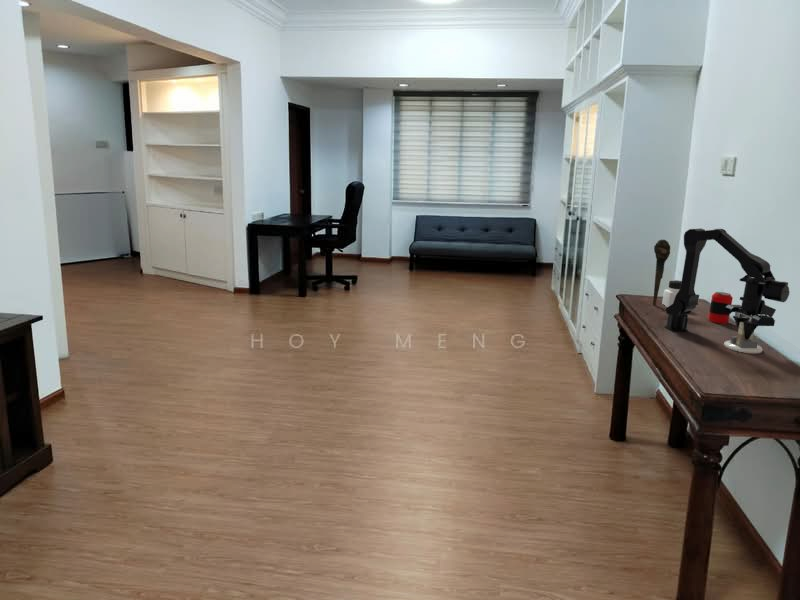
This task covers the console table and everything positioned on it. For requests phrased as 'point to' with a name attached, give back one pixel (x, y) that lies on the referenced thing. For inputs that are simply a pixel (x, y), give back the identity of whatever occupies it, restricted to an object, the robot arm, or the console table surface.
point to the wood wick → (742, 333)
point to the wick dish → (743, 346)
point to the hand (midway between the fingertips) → (744, 338)
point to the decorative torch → (660, 264)
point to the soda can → (719, 307)
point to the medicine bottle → (671, 292)
